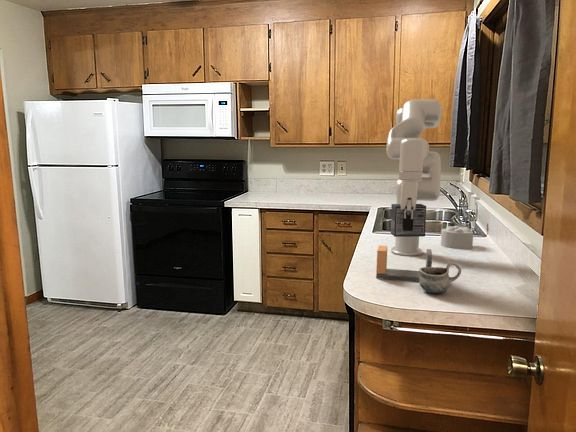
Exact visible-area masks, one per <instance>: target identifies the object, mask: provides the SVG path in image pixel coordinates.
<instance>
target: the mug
mask: <svg viewBox="0 0 576 432" xmlns="http://www.w3.org/2000/svg"><path fill="white" fill-rule="evenodd" d="M451 266H454V267H456V268H457V270H458V272H457V274H456V275H455V276H452V277H451V276H449V273H450V268H451ZM418 271H419V272H420V278H419V286H420V288H422V290H424V291H425V292H427V293H431V294H443V293H444V292H446V291H447V290H448V289H449V288H450V286H451V283H453V282H455V281H456V280H458V278H459V277H460V276H461V274H462V267H461V265H460V264H459V263H458V262H456V261H449V262H448V263H447V265H446V267H439V266H438V267H437V266H436V267H435V266H432V267H426V266H424V267H419V270H418Z"/></svg>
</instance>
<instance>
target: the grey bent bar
mask: <svg viewBox="0 0 576 432" xmlns="http://www.w3.org/2000/svg"><path fill="white" fill-rule="evenodd" d="M432 252H433V251H432V249H429V248H426V255H425V267H433V264H432V263H433V253H432ZM375 278H376V279H378V280H389V281H391V280H392V281H405V282H417V283H418V282H419V278H420V272H419V270H410V269H409V270H408V269H399V268H398V269H397V268H386V273H385V274H378V273H376V275H375Z"/></svg>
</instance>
